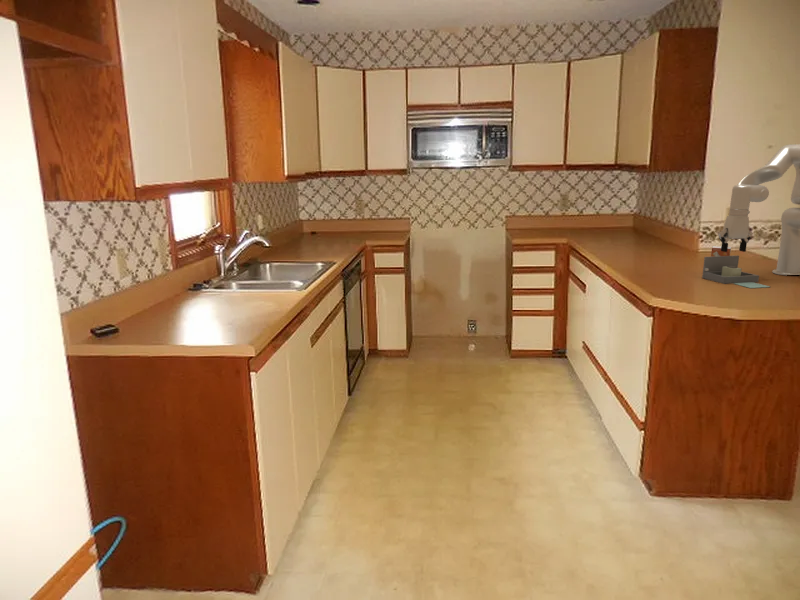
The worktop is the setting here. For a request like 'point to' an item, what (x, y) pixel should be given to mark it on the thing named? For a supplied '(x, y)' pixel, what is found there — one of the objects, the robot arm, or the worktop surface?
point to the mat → (751, 285)
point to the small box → (719, 251)
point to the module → (731, 271)
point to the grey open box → (714, 270)
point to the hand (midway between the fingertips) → (733, 251)
